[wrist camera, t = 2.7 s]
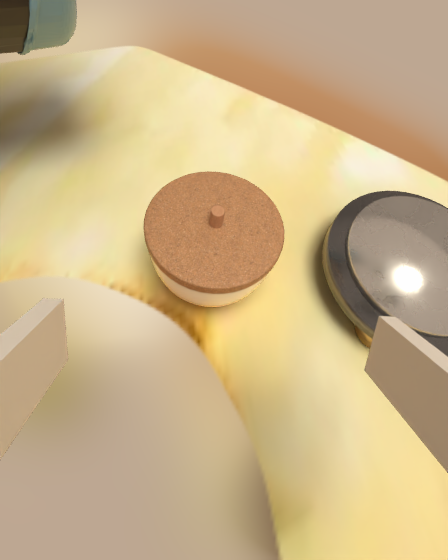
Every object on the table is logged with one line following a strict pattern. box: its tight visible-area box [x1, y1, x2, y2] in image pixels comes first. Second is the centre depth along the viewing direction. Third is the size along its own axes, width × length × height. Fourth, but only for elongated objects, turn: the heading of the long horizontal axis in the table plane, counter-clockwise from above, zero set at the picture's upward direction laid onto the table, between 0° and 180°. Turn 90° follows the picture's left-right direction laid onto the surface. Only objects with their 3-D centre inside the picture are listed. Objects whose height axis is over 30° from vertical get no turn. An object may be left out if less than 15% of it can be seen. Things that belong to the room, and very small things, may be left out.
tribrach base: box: [322, 191, 448, 357], centre depth 31 cm, size 17×17×5 cm
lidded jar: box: [144, 172, 284, 307], centre depth 27 cm, size 11×11×9 cm
